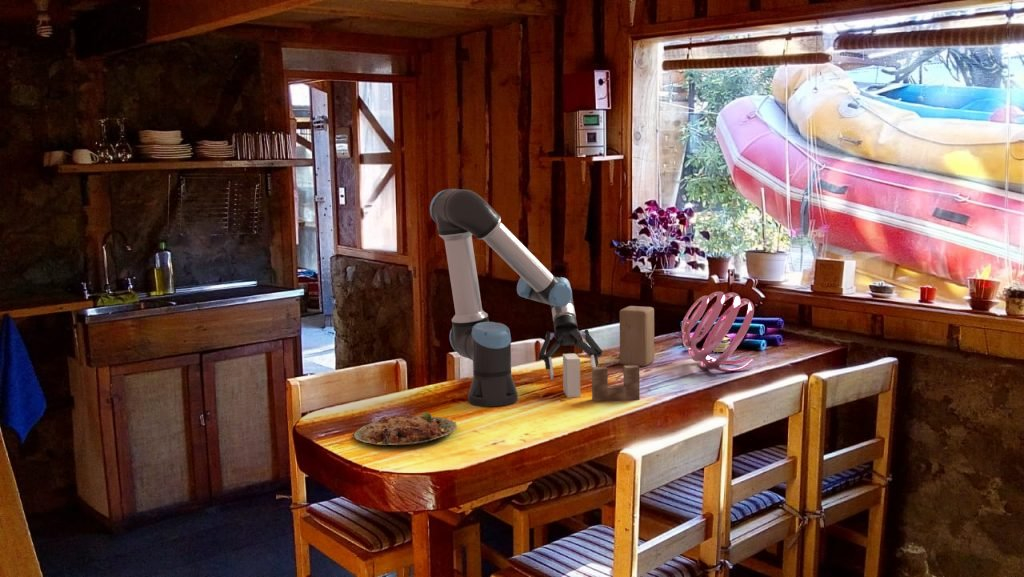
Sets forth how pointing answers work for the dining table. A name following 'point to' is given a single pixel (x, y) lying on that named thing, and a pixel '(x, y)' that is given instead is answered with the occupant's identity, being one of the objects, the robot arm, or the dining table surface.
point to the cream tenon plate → (571, 375)
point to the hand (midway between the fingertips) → (573, 376)
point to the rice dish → (405, 429)
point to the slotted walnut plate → (615, 391)
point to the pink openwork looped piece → (715, 330)
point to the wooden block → (636, 335)
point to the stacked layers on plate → (722, 345)
